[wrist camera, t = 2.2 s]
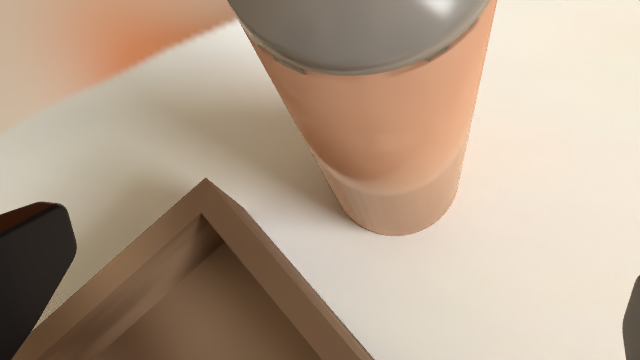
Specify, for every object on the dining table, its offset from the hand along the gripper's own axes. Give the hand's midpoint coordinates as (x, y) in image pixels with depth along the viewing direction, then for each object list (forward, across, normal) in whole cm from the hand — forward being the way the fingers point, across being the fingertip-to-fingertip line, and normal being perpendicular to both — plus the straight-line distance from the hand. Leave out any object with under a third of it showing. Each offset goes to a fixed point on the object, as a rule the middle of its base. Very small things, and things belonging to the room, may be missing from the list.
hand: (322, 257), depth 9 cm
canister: (+12, 0, +5) cm, 12 cm away
